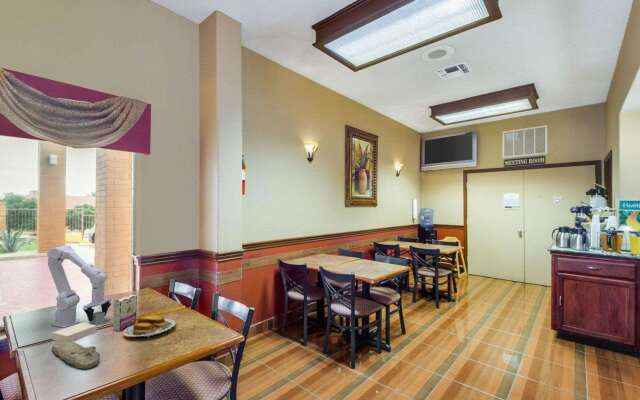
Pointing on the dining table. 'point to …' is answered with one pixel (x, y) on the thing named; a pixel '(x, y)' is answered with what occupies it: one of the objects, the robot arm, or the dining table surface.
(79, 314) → the dining table surface
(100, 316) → the slate block
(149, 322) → the food on plate
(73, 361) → the long grey stone
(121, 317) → the candy bar box
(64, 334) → the cream box
